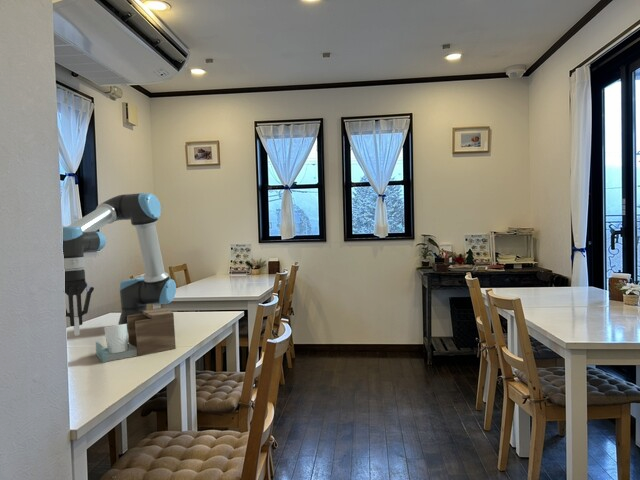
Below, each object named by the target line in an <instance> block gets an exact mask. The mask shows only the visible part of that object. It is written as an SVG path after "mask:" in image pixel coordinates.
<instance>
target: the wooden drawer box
mask: <svg viewBox="0 0 640 480" xmlns="http://www.w3.org/2000/svg"><path fill="white" fill-rule="evenodd" d="M142 312H143V314H136V315H130V316H127V325H128V329H127V334H128V344H129V343H130V344H131V345H132V346H135V347H136V348H137V357H142V356H145V355H151V354H156V353H161V352H166V351H172V350H175V349H177V347H176V333H175V316H174V315H175V314H174V312H173V311H171V310H168V309H166V308H164V307H158V308H156V307H155V308H150V309H147V310H143V311H142Z"/></svg>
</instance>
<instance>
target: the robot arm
mask: <svg viewBox="0 0 640 480" xmlns="http://www.w3.org/2000/svg"><path fill="white" fill-rule="evenodd" d="M161 211H162V206H161V203H160V200H159V198H158V197H157V196H156V195H154V194H153V193H150V192H149V193H147V192H145V193H144V192H140V193H127V194H119V195H116V196H113V197H111V198H109V199H107V200H105V201H103V202H101V203H100V204H98V205H97V206H96V208H95V210H92V211H91V212H90V213H88V214H86V215H84V216H83V217H82V218H79V219H78V220H76V221H75V222H73V223H71V224H70V225H68V226H62V227H63V252H64V269H65V292H64V293H65V294H66V295H67V298H68V310H67V309H66V316H65V317H68V318H69V325H70V327H73V333H74V336H81V331H80V326H82V325H83V316H84V315H87V314H88V311H89V308H90V307H89V306H90V302H91V298H92V293H93V292H94V289H95V287H94V286H90V285H88V283H87V281H86V272H85V271H86V270H85V269H84V268H85V257H84V256H85V255H84V254H85V252H86V253H87V252H88V253H89V252H97V251H101V250H102V249H104V248H105V246H106V243H107V238H106V237H105V234H103V233H102V232H100V231H98V230H100V229H102V227H104V226H105V225H107V224H113V223H114V222H117V221H126V220H127V221H128V220H130V223H131V226H133V227H135V230H136V236H137V238H138V244H139V248H140V249H139V250H140V254H141V258H142V262H143V267H144V271H145V277H144V276H141V277H135V278H130V279H125V280H123V281H120V283H119V294H120V307H121V309H120V310H121V311H120V316H119V320H118V324H117V325H122V324H127V316H130V315H136V314H143V312H142V311H143V310H148V305H163V304H166V305H167V304H171V303H172V302H173V300H174V299H175V295H176V292H177V283H176V281H175V280H174V279H171V278H170V275H169V273H168V272H166V271H165V266H164V262H163V256H162V251H161V245H160V241H159V236H158V231H157V226H156V224H157V223H158V221H159V219H158V218H160V217H161V215H162V212H161ZM84 291H86V295H85V300H84V305H82V295H83V293H84ZM74 296H75V297H76V298H75V299H76V311H77V315H75V310H74V309H75V307H74ZM82 306H83V307H82ZM127 330H128V325H127Z"/></svg>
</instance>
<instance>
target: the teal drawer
mask: <svg viewBox="0 0 640 480" xmlns="http://www.w3.org/2000/svg"><path fill="white" fill-rule="evenodd" d="M95 351H96V353H95V354H96V356H97V357H98V358H99V359H100V361H101V362H102V364H105V363H107V362H111V361H115V360H121V359H125V358H130V357H136V356H137V347H135V346H132V345H131V344H130V343H129V342H128V351H124V352H119V353H113V354H108V347H107V346H106V347H104V346H103V345H102V344H101V343H100V342H99V341H95ZM137 357H138V356H137Z"/></svg>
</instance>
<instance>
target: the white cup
mask: <svg viewBox="0 0 640 480" xmlns="http://www.w3.org/2000/svg"><path fill="white" fill-rule="evenodd" d="M103 329H104V330H103V331H104V335H105V336H104V337H105V341H106V348H107V347H108V354H113V353H119V352H124V351H128V344H129V339H128V329H127V324H122V325H119V324H117V325H112V326H111V325H110V326H105V327H103Z"/></svg>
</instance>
